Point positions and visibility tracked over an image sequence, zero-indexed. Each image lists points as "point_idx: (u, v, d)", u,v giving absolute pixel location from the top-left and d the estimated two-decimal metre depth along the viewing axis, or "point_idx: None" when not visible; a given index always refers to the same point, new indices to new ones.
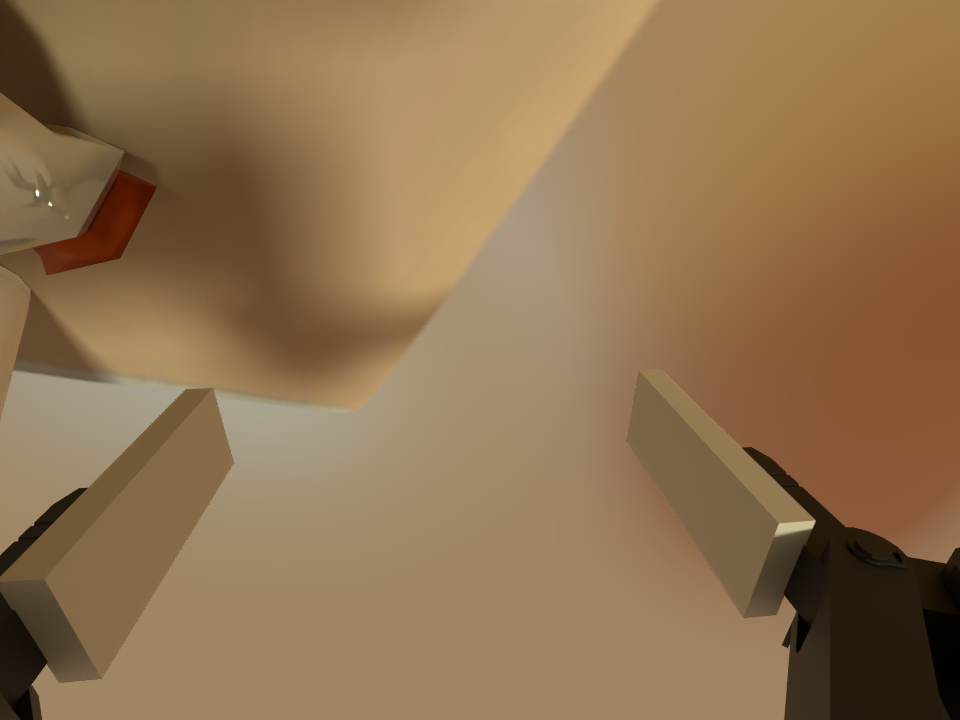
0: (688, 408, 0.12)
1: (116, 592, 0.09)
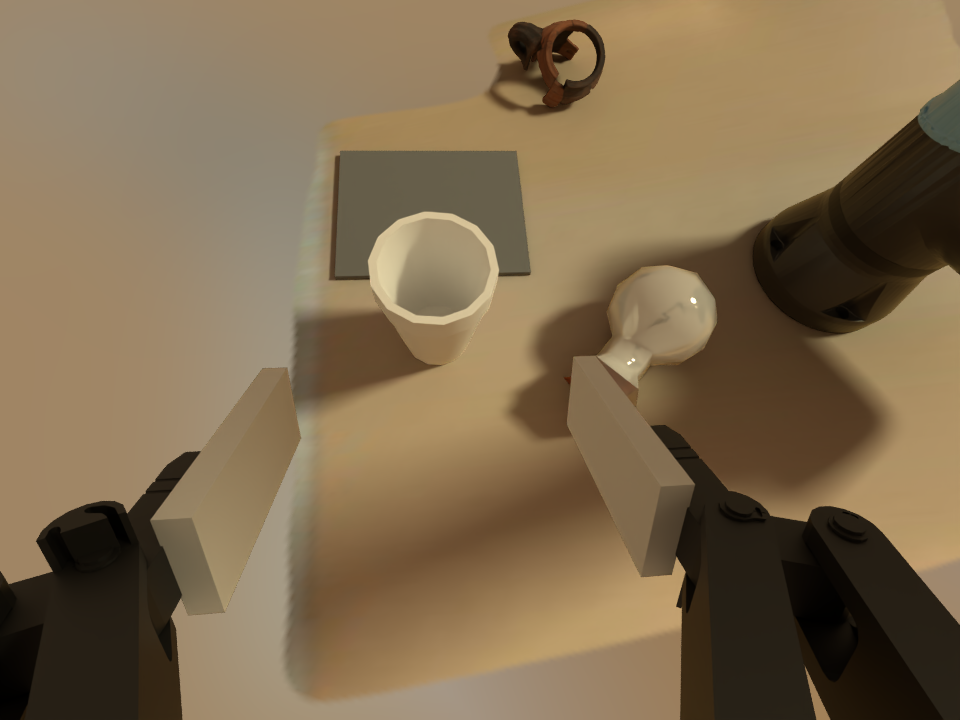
0: (609, 389, 0.13)
1: (232, 539, 0.10)
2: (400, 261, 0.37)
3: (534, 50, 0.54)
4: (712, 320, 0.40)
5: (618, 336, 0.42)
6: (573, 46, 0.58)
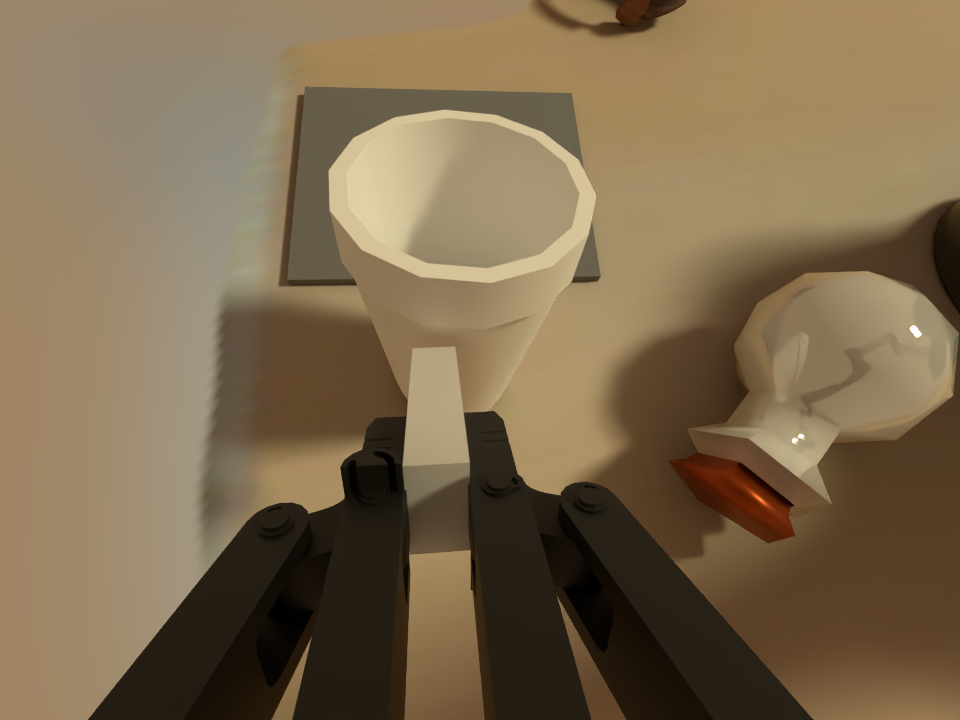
0: (447, 378, 0.14)
1: None
2: (395, 213, 0.20)
3: None
4: None
5: (768, 393, 0.24)
6: None
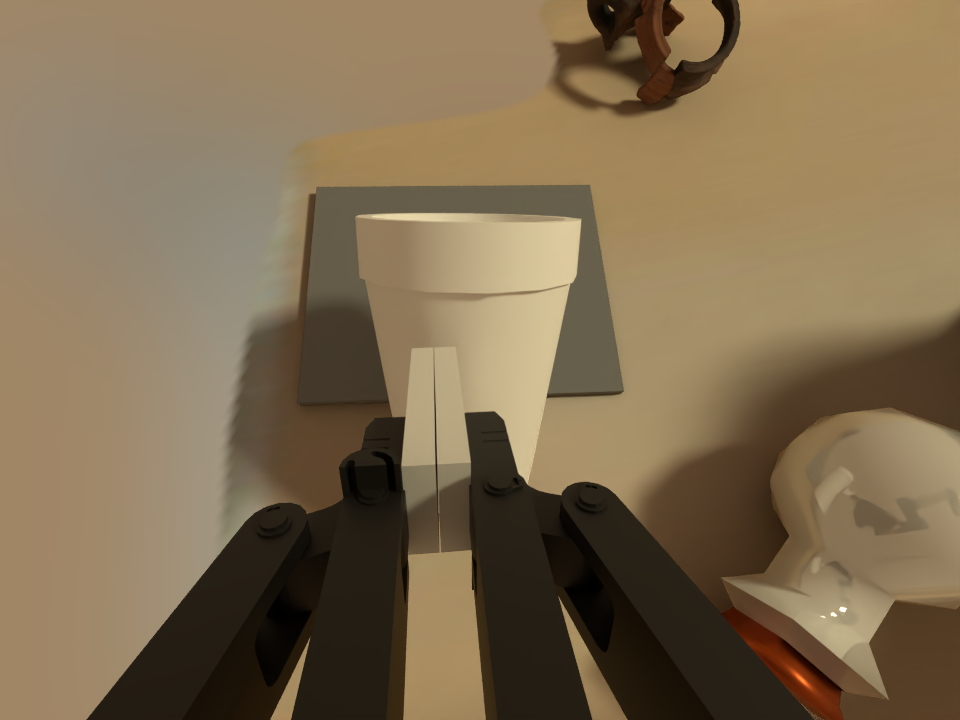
0: (448, 378, 0.14)
1: None
2: None
3: (630, 17, 0.35)
4: None
5: (810, 547, 0.22)
6: (677, 14, 0.39)
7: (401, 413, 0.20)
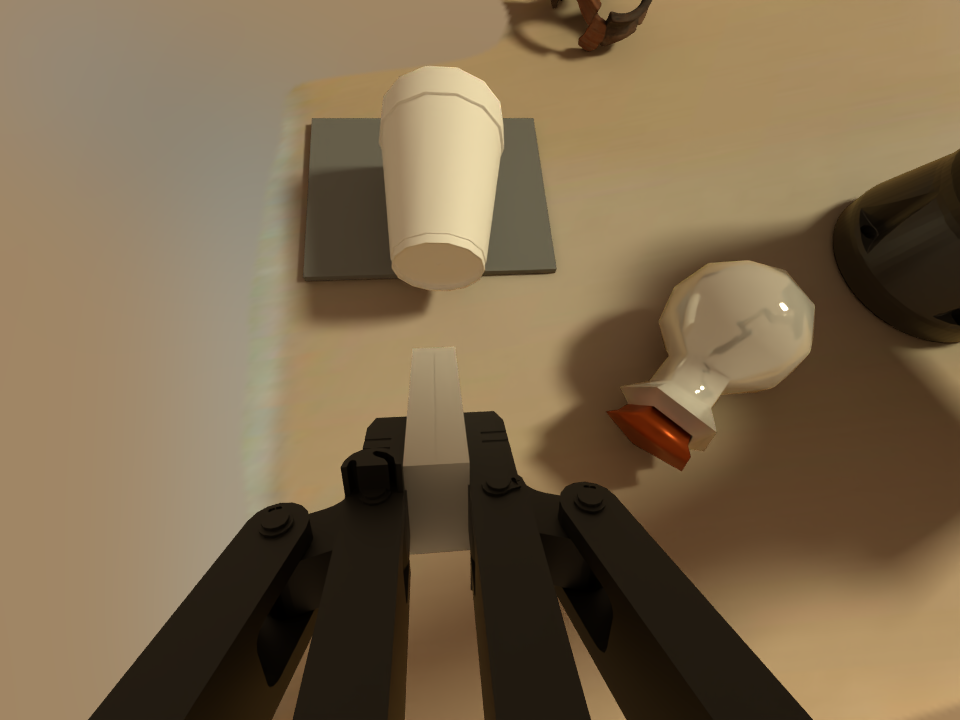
0: (447, 378, 0.14)
1: None
2: None
3: None
4: (812, 334, 0.29)
5: (679, 355, 0.31)
6: None
7: (398, 182, 0.30)
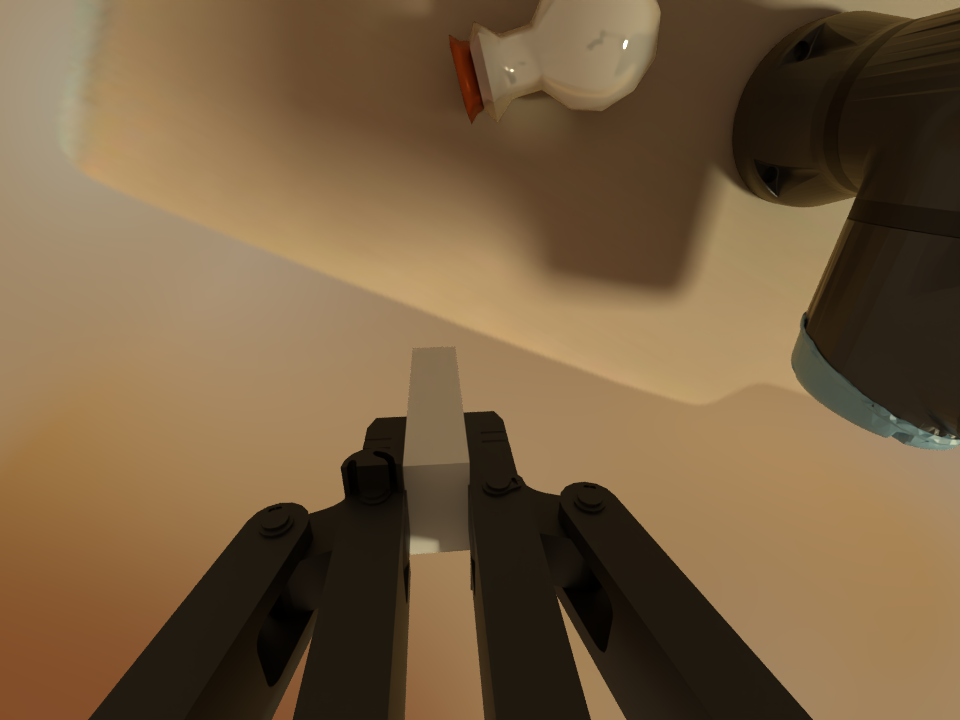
0: (447, 378, 0.14)
1: None
2: None
3: None
4: (622, 83, 0.33)
5: (529, 27, 0.33)
6: None
7: None
